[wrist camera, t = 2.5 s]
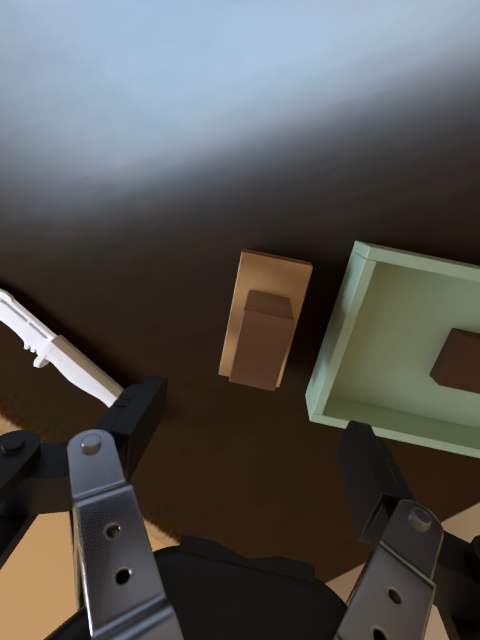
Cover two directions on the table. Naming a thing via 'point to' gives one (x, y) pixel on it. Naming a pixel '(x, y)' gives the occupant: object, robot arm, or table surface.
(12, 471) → the robot arm
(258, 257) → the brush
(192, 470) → the table surface
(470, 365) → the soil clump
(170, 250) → the table surface
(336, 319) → the tray
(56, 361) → the knife
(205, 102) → the table surface
